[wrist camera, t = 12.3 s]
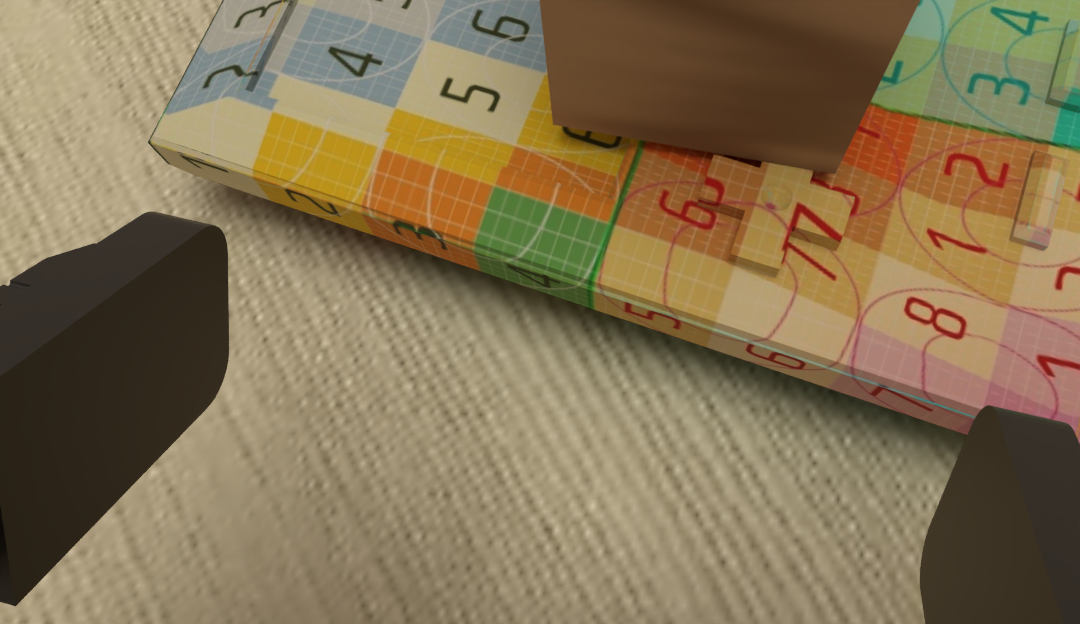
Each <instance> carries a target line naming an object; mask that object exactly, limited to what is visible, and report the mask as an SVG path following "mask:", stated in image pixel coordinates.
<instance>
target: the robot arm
mask: <svg viewBox="0 0 1080 624" xmlns="http://www.w3.org/2000/svg"><path fill="white" fill-rule="evenodd" d="M228 357H229V311H228V250H227V242H226V239H225V236H224V234H223V232H222V230H221V229H220V228H219V227H217V226H214V225H210V224H205V223H201V222H197V221H192V220H188V219H184V218H179V217H175V216H170V215H166V214H162V213H157V212H147V213H144V214H142V215H141V216H139V217H138V218H136V219H134V220H133V221H131V222H130V223H128V224H127V225H125V226H124V227H122V228H120V229H119V230H117V231H116V232H114V233H113V234H111V235H109V236H108V237H106V238H105V239H103V240H102V241H100V242H98V243H97V244H95V243H94V244H91V245H87V246H84V247H81V248H78V249H74V250H71V251H68V252H65V253H62V254H58V255H55V256H52V257H49V258H46V259H44V260H43V261H41V262H39V263H38V264H36V265H34V266H33V267H31V268H30V269H28V270H26V271H25V272H23V273H21V274H20V275H18V276H17V277H15V278H13V279H12V280H10V285H9V286H6V285H2V286H0V602H3V603H7V604H10V605H13V606H16V605H17V604H18V603H19V602H20V601H21V600H22V599H23V598H24V597H25V596H26V595H27V594H28V593H29V592H30V591H31V590H32V589H33V588H34V587H35V586H36V585H37V584H38V583H39V582H40V581H41V579H42V578H43V577H44V576H45V575H46V574H47V573H48V572H49V571H50V570H51V569H52V568H53V567H54V566H55V565H56V564H57V563H58V562H59V561H60V560H61V559H62V558H63V557H64V556H65V555H66V554H67V553H68V552H69V550H70V549H71V548H72V547H73V546H74V545H75V544H76V543H77V542H78V541H79V540H80V539H81V538H82V537H83V536H84V535H85V534H86V533H87V532H88V531H89V530H90V529H91V528H92V527H93V526H94V525H95V524H96V523H97V522H98V520H99V519H100V518H101V517H102V516H103V515H104V514H105V513H106V512H107V511H108V510H109V509H110V508H111V507H112V506H113V505H114V504H115V503H116V502H117V501H118V500H119V499H120V498H121V497H122V496H123V495H124V494H125V493H126V491H127V490H128V489H129V488H130V487H131V486H132V485H133V484H134V483H135V482H136V481H137V480H138V479H139V478H140V477H141V476H142V475H143V474H144V473H145V472H146V471H147V470H148V469H149V468H150V467H151V466H152V465H153V464H154V462H155V461H156V460H157V459H158V458H159V457H160V456H161V455H162V454H163V453H164V452H165V451H166V450H167V449H168V448H169V447H170V446H171V445H172V444H173V443H174V442H175V441H176V440H177V439H178V438H179V437H180V436H181V435H182V433H183V432H184V431H185V430H186V429H187V428H188V427H189V426H190V425H191V424H192V423H193V422H194V421H195V420H196V419H197V418H198V417H199V416H200V415H201V414H202V413H203V412H204V411H205V410H206V409H207V408H208V406H209V405H210V404H211V403H212V401H213V400H214V398H215V397H216V395H217V393H218V391H219V389H220V387H221V385H222V382H223V379H224V376H225V373H226V369H227V364H228ZM920 590H921V597H922V604H923V610H924V617H925V623H926V624H1080V444H1079V441H1078V439H1077V437H1076V434H1075V432H1074V430H1073V428H1072V427H1071V426H1070V425H1069V424H1068V423H1065V422H1061V421H1057V420H1052V419H1048V418H1043V417H1039V416H1035V415H1030V414H1026V413H1022V412H1017V411H1013V410H1009V409H1004V408H1000V407H996V406H991V405H987V406H985V407H983V408H982V409H981V410H980V411H979V413H978V414H977V416H976V417H975V419H974V421H973V423H972V425H971V427H970V430H969V432H968V435H967V437H966V439H965V442H964V444H963V447H962V449H961V451H960V454H959V456H958V459H957V461H956V464H955V466H954V468H953V471H952V473H951V476H950V478H949V480H948V483H947V485H946V488H945V490H944V492H943V495H942V497H941V500H940V502H939V505H938V507H937V509H936V512H935V514H934V517H933V519H932V521H931V524H930V527H929V529H928V532H927V536H926V539H925V543H924V548H923V553H922V559H921V568H920Z"/></svg>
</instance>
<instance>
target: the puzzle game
mask: <svg viewBox="0 0 1080 624" xmlns="http://www.w3.org/2000/svg"><path fill="white" fill-rule="evenodd" d="M148 143H149V144H150V145H151V146H152V147H153V148H154V150H155V151H156V152H157V153H158V154H159V155H160V156H161V157H162V158H163V159H164V160H165V161H166V162H167V163H168V164H170V165H172V166H175V167H177V168H179V169H182V170H184V171H186V172H189V173H191V174H193V175H196V176H199V177H202V178H205V179H208V180H211V181H214V182H217V183H220V184H223V185H226V186H228V187H231V188H234V189H237V190H240V191H243V192H246V193H249V194H252V195H255V196H258V197H261V198H264V199H267V200H270V201H273V202H276V203H279V204H282V205H285V206H288V207H291V208H294V209H297V210H300V211H303V212H306V213H309V214H312V215H315V216H318V217H321V218H324V219H327V220H330V221H333V222H336V223H338V224H341V225H344V226H347V227H350V228H353V229H356V230H359V231H362V232H365V233H368V234H371V235H374V236H377V237H380V238H383V239H386V240H389V241H392V242H395V243H398V244H401V245H404V246H407V247H410V248H413V249H416V250H419V251H422V252H425V253H428V254H431V255H434V256H437V257H440V258H443V259H446V260H448V261H451V262H454V263H457V264H460V265H463V266H466V267H469V268H472V269H475V270H478V271H481V272H484V273H487V274H490V275H493V276H496V277H499V278H502V279H505V280H508V281H511V282H514V283H517V284H520V285H523V286H526V287H529V288H532V289H535V290H538V291H541V292H544V293H547V294H550V295H553V296H555V297H558V298H561V299H564V300H567V301H570V302H573V303H576V304H579V305H582V306H585V307H588V308H591V309H594V310H597V311H600V312H603V313H606V314H609V315H612V316H615V317H618V318H621V319H624V320H627V321H630V322H633V323H636V324H639V325H642V326H645V327H648V328H651V329H654V330H657V331H660V332H663V333H665V334H668V335H671V336H674V337H677V338H680V339H683V340H686V341H689V342H692V343H695V344H698V345H701V346H704V347H707V348H710V349H713V350H716V351H719V352H722V353H725V354H728V355H731V356H734V357H737V358H740V359H743V360H746V361H749V362H752V363H755V364H758V365H761V366H764V367H767V368H770V369H773V370H775V371H778V372H781V373H784V374H787V375H790V376H793V377H796V378H799V379H802V380H805V381H808V382H811V383H814V384H817V385H820V386H823V387H826V388H829V389H832V390H835V391H838V392H841V393H844V394H847V395H850V396H853V397H856V398H859V399H862V400H865V401H868V402H871V403H874V404H877V405H880V406H882V407H885V408H888V409H891V410H894V411H897V412H900V413H903V414H906V415H909V416H912V417H915V418H918V419H921V420H924V421H927V422H930V423H933V424H936V425H939V426H942V427H945V428H948V429H951V430H954V431H957V432H960V433H963V434H966V435H968V432H969V430H970V427H971V425H972V423H973V421H974V419H975V417H976V416H977V414H978V413H979V411H980V410H981V409H982V408H983V407H985V406H987V405H991V406H996V407H1000V408H1004V409H1009V410H1013V411H1017V412H1022V413H1026V414H1030V415H1035V416H1039V417H1043V418H1048V419H1052V420H1057V421H1061V422H1065V423H1068V424H1069V425H1070V426H1071V427H1072V428H1073V430H1074V432H1075V434H1076V437H1077V439H1078V441H1079V444H1080V0H920V2H919V4H918V6H917V8H916V10H915V12H914V14H913V16H912V18H911V20H910V22H909V25H908V27H907V29H906V31H905V33H904V35H903V37H902V39H901V41H900V43H899V45H898V47H897V49H896V51H895V53H894V55H893V57H892V59H891V61H890V63H889V65H888V67H887V69H886V71H885V73H884V75H883V78H882V80H881V82H880V84H879V86H878V88H877V90H876V92H875V94H874V96H873V98H872V100H871V102H870V104H869V106H868V108H867V110H866V112H865V114H864V116H863V118H862V120H861V122H860V124H859V126H858V128H857V131H856V133H855V135H854V137H853V139H852V141H851V143H850V145H849V147H848V149H847V151H846V153H845V155H844V157H843V159H842V161H841V163H840V165H839V167H838V169H837V171H836V173H835V174H832V173H826V172H821V171H815V170H809V169H804V168H798V167H792V166H786V165H781V164H775V163H769V162H764V161H758V160H752V159H746V158H741V157H735V156H729V155H724V154H718V153H712V152H706V151H701V150H695V149H689V148H684V147H678V146H672V145H666V144H661V143H655V142H649V141H643V140H638V139H632V138H626V137H621V136H615V135H609V134H603V133H598V132H592V131H586V130H581V129H575V128H569V127H563V126H558V125H553V119H552V110H551V101H550V92H549V83H548V74H547V65H546V55H545V46H544V37H543V28H542V19H541V10H540V1H539V0H223V1H222V3H221V5H220V6H219V8H218V10H217V12H216V14H215V16H214V18H213V20H212V22H211V24H210V25H209V27H208V29H207V31H206V33H205V35H204V37H203V39H202V41H201V43H200V44H199V46H198V48H197V50H196V52H195V54H194V56H193V58H192V60H191V62H190V63H189V65H188V67H187V69H186V71H185V73H184V75H183V77H182V79H181V81H180V82H179V84H178V86H177V88H176V90H175V92H174V94H173V96H172V98H171V99H170V101H169V103H168V105H167V107H166V109H165V111H164V113H163V115H162V117H161V118H160V120H159V122H158V124H157V126H156V128H155V130H154V132H153V134H152V136H151V137H150V139H149V141H148Z"/></svg>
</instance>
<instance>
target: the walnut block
mask: <svg viewBox="0 0 1080 624" xmlns="http://www.w3.org/2000/svg"><path fill="white" fill-rule="evenodd" d="M539 1H540V10H541V19H542V28H543V37H544V46H545V55H546V65H547V74H548V83H549V92H550V101H551V110H552V119H553V125H558V126H563V127H569V128H575V129H581V130H586V131H592V132H598V133H603V134H609V135H615V136H621V137H626V138H632V139H638V140H643V141H649V142H655V143H661V144H666V145H672V146H678V147H684V148H689V149H695V150H701V151H706V152H712V153H718V154H724V155H729V156H735V157H741V158H746V159H752V160H758V161H764V162H769V163H775V164H781V165H786V166H792V167H798V168H804V169H809V170H815V171H821V172H826V173H832V174H835V173H836V171H837V169H838V167H839V165H840V163H841V161H842V159H843V157H844V155H845V153H846V151H847V149H848V147H849V145H850V143H851V141H852V139H853V137H854V135H855V133H856V131H857V128H858V126H859V124H860V122H861V120H862V118H863V116H864V114H865V112H866V110H867V108H868V106H869V104H870V102H871V100H872V98H873V96H874V94H875V92H876V90H877V88H878V86H879V84H880V82H881V80H882V78H883V75H884V73H885V71H886V69H887V67H888V65H889V63H890V61H891V59H892V57H893V55H894V53H895V51H896V49H897V47H898V45H899V43H900V41H901V39H902V37H903V35H904V33H905V31H906V29H907V27H908V25H909V22H910V20H911V18H912V16H913V14H914V12H915V10H916V8H917V6H918V4H919V2H920V0H539Z"/></svg>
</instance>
